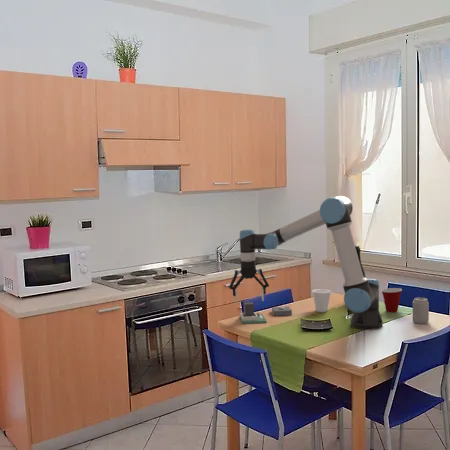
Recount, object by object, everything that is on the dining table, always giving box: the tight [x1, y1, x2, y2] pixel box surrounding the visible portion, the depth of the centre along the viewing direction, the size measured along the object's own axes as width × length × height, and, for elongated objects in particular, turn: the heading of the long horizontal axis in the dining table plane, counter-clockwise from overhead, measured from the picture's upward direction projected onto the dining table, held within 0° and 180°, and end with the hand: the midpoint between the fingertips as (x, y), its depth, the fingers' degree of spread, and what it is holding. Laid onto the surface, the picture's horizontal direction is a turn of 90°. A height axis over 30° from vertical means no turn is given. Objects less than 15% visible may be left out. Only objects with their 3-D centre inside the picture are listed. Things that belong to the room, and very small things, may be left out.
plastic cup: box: [380, 287, 403, 313], centre depth 289 cm, size 11×11×12 cm
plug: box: [243, 301, 255, 317], centre depth 278 cm, size 5×4×8 cm
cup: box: [311, 288, 332, 313], centre depth 293 cm, size 10×10×11 cm
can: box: [412, 297, 430, 325], centre depth 266 cm, size 8×8×12 cm
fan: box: [271, 305, 293, 317], centre depth 290 cm, size 9×9×3 cm
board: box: [239, 311, 267, 325], centre depth 279 cm, size 14×12×3 cm
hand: (249, 301), depth 277 cm, fingers open, 13 cm apart
